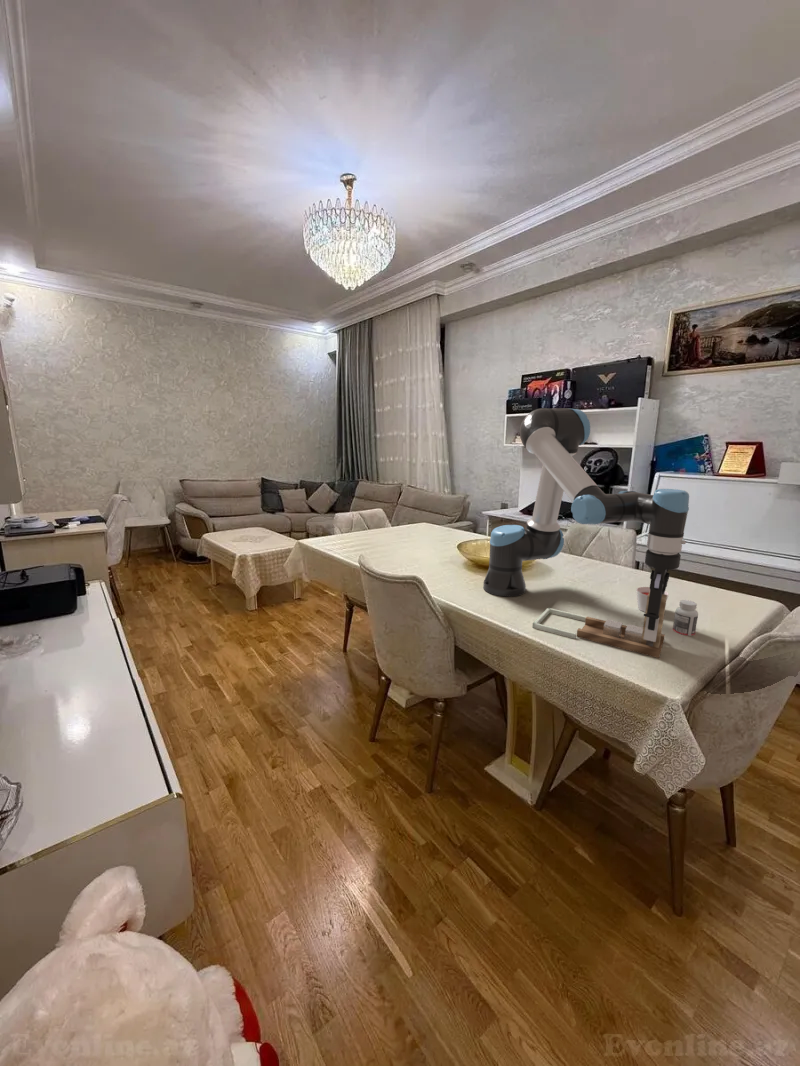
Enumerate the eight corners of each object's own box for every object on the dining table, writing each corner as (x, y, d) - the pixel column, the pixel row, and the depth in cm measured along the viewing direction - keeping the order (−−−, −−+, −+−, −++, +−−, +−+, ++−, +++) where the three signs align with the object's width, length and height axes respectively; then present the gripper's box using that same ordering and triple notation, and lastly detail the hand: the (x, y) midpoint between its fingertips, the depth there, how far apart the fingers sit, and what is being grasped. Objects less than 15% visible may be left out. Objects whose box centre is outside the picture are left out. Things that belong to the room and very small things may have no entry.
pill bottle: (685, 629, 126) (690, 598, 124) (699, 638, 121) (704, 606, 119) (668, 630, 126) (672, 599, 124) (680, 639, 121) (685, 606, 118)
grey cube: (602, 637, 119) (603, 624, 118) (605, 632, 123) (607, 619, 122) (618, 641, 117) (619, 628, 116) (620, 636, 120) (622, 623, 119)
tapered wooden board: (639, 648, 113) (646, 598, 109) (643, 637, 118) (650, 589, 115) (657, 652, 110) (665, 601, 107) (660, 641, 116) (667, 593, 113)
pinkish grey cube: (623, 643, 116) (625, 629, 115) (626, 637, 119) (628, 624, 119) (640, 647, 114) (642, 633, 113) (642, 641, 117) (644, 628, 116)
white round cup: (657, 604, 144) (659, 587, 143) (671, 616, 136) (674, 597, 134) (629, 604, 145) (631, 586, 143) (642, 615, 136) (644, 596, 135)
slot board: (576, 639, 120) (577, 630, 120) (585, 625, 129) (586, 616, 128) (658, 661, 109) (660, 651, 108) (663, 644, 117) (664, 634, 117)
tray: (532, 630, 126) (532, 623, 125) (547, 614, 137) (547, 607, 136) (574, 642, 119) (575, 634, 119) (587, 624, 130) (587, 616, 130)
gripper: (678, 563, 98) (664, 654, 104) (683, 544, 114) (671, 624, 119) (640, 557, 103) (629, 645, 108) (651, 540, 118) (640, 617, 124)
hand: (651, 634), depth 114 cm, fingers closed on tapered wooden board, 7 cm apart
